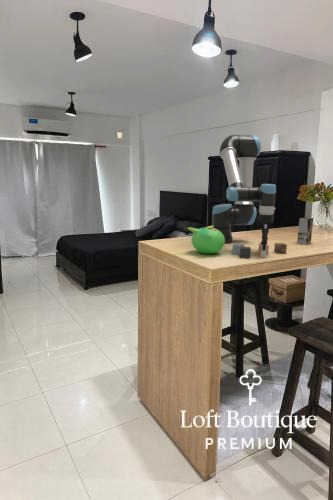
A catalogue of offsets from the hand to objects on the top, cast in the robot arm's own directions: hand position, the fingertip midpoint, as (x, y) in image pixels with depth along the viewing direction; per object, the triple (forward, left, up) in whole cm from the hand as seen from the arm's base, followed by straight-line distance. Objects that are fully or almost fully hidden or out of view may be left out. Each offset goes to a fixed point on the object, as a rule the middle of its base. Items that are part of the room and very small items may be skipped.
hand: (263, 253), depth 185 cm
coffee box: (+25, +42, 0) cm, 49 cm away
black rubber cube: (-9, -11, 0) cm, 14 cm away
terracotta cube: (0, 0, 0) cm, 0 cm away
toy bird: (-29, -9, 0) cm, 30 cm away
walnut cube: (+9, +7, 0) cm, 12 cm away
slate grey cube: (-13, -4, 0) cm, 14 cm away
